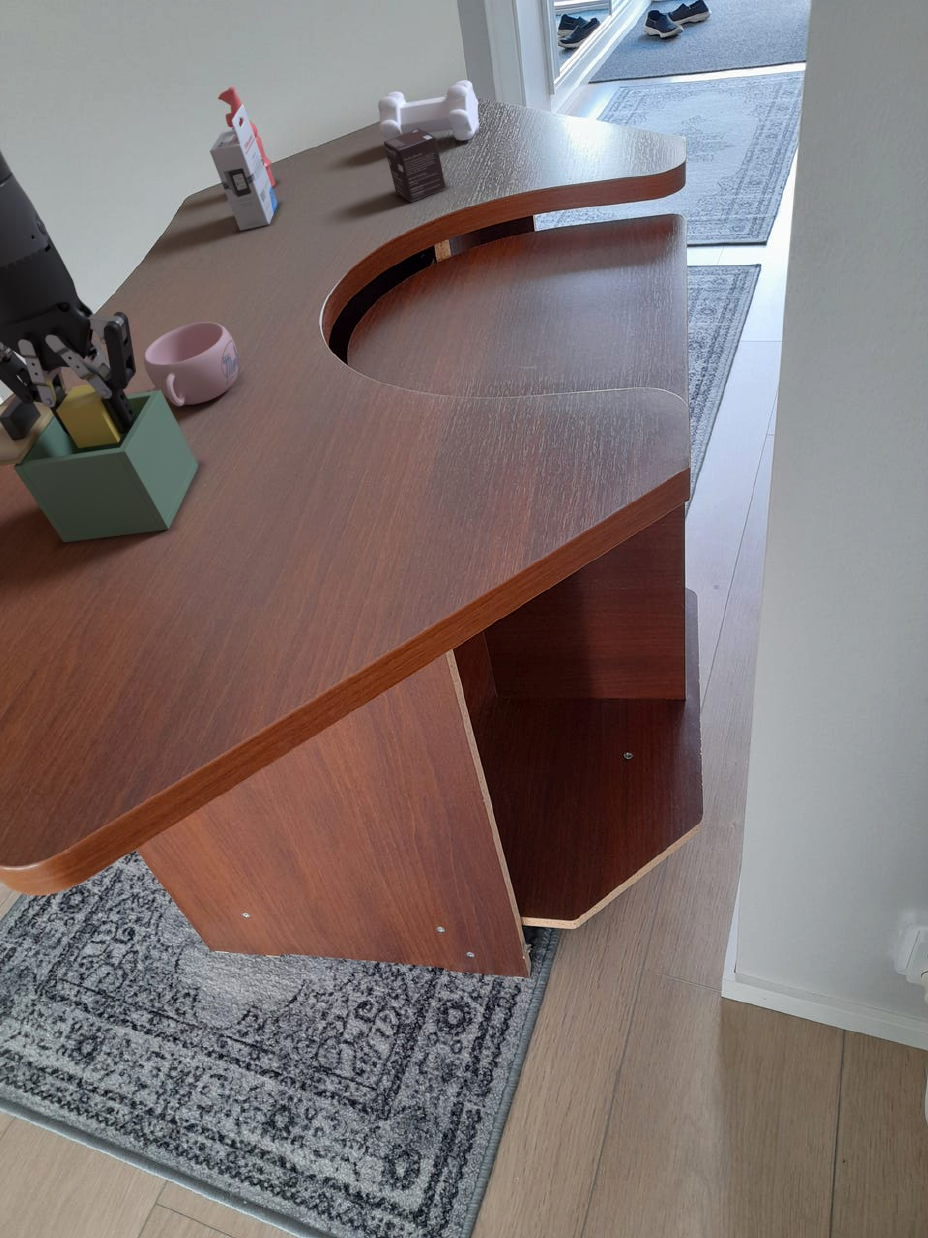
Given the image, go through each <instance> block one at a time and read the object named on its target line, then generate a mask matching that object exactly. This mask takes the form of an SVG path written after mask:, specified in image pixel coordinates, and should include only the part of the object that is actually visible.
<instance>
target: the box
mask: <svg viewBox="0 0 928 1238" xmlns="http://www.w3.org/2000/svg"><path fill="white" fill-rule="evenodd" d="M383 145H384V148H385V153H386V157H387V158H386V159H387V162H388V165H389V170H390V175H391V178H392V182H393V186H394V190H395V193H396V194H397V195H398V196H400V197H401V198H403V199H404V200H406V201H407V202H409V203H413V202H417V201H419V200H421V199H423V198H426V197H428V196H430V195H433V194H436V193H439V192H443V191H445V190H446V189H447V185H446V182H445V176H444V172H443V166H442V162H441V157H440V152H439V146H438V142H437V137H436V136H435V135H433V134H430V132H429V133H428V132H426V131H423V130H421V129H416V130H413V131H411V132H408V133H406V134H403V135H400V136H398V137H395V138H392V139H390V140H387V141H386V140H384V141H383Z"/></svg>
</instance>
